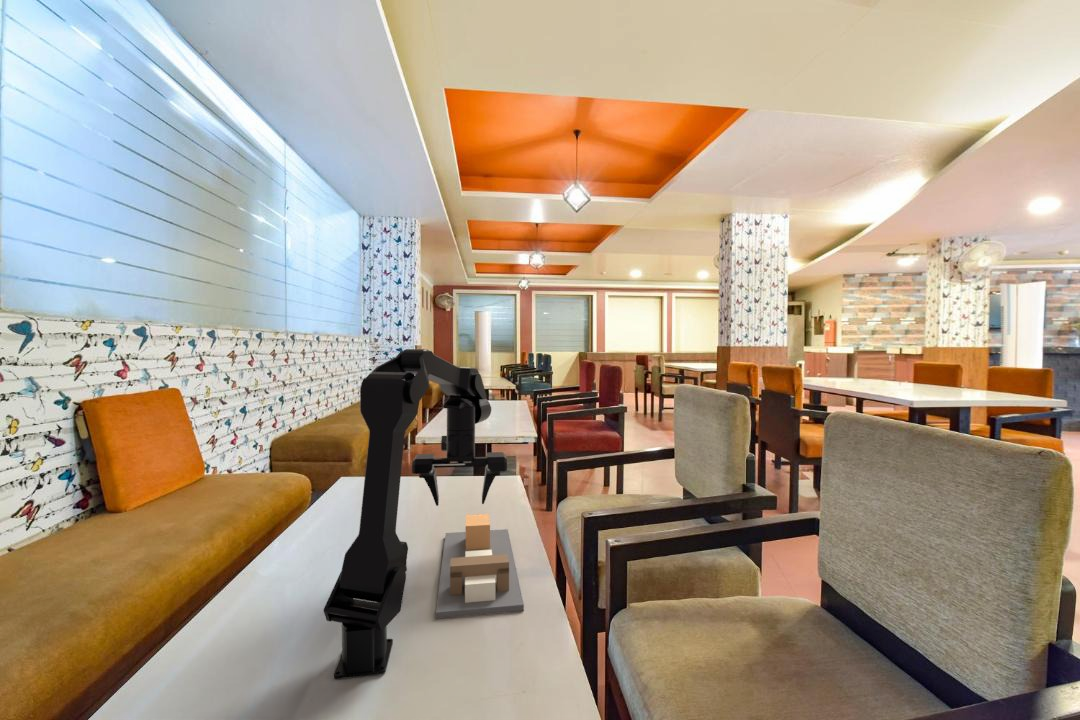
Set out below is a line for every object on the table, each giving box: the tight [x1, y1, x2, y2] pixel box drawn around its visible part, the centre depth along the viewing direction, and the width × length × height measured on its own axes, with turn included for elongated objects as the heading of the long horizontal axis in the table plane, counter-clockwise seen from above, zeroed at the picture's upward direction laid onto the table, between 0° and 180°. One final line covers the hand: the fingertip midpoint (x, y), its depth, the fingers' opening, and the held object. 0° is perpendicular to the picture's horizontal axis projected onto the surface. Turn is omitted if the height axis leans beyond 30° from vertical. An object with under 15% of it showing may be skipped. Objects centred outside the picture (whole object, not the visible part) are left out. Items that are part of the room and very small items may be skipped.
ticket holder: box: [435, 528, 525, 620], centre depth 86 cm, size 30×14×6 cm, turn 9°
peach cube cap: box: [465, 513, 491, 550], centre depth 94 cm, size 6×5×5 cm
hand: (460, 504), depth 91 cm, fingers open, 9 cm apart
